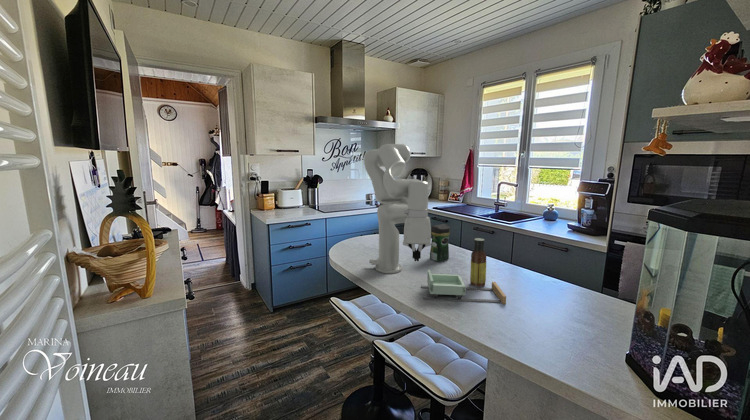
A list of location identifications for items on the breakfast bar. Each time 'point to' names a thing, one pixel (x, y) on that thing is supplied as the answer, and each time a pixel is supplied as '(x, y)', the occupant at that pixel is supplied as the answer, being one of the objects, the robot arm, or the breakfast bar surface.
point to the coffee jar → (440, 242)
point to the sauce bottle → (478, 264)
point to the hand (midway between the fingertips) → (416, 260)
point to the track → (494, 288)
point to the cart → (445, 284)
